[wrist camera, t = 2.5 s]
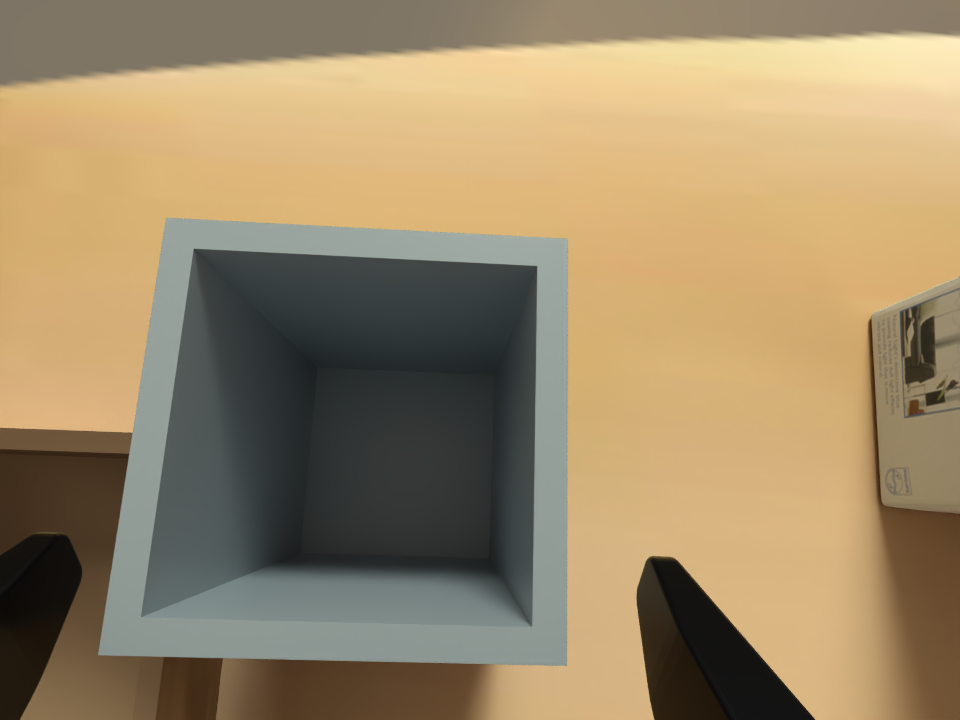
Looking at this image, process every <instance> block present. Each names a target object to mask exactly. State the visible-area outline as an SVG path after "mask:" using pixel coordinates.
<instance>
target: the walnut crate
mask: <svg viewBox="0 0 960 720" xmlns="http://www.w3.org/2000/svg"><path fill="white" fill-rule="evenodd" d="M132 434H133V433H122V432H96V431H69V430H43V429H16V428H0V554H2V553H3V552H5V551H6V550H8V549H10V548H11V547H13V546H14V545H16V544H17V543H19V542H20V541H22V540H23V539H25V538H26V537H28V536H29V535H31V534H33V533H36V532H62V533H65V534H66V535H68V537H69V538H70V540H71V542H72V545H73V547H74V549H75V552H76V554H77V556H78V558H79V561H80V563H81V566H82V579H81V583H80V585H79V588H78V590H77V593H76V595H75V598H74V600H73V603H72V605H71V608H70V610H69V612H68V615H67V617H66V620H65V622H64V625H63V627H62V630H61V632H60V635H59V637H58V639H57V642H56V644H55V647H54V649H53V652H52V654H51V657H50V659H49V662H48V664H47V666H46V669H45V671H44V673H43V675H42V678H41V680H40V682H39V684H38V686H37V688H36V690H35V692H34V694H33V696H32V698H31V700H30V702H29V704H28V706H27V707H26V709H25V711H24V713H23V715H22V717H21V719H20V720H215V717H216V709H217V700H218V691H219V682H220V674H221V665H222V658H197V657H153V656H108V655H98V653H99V646H100V640H101V633H102V627H103V620H104V614H105V608H106V601H107V595H108V588H109V582H110V575H111V569H112V563H113V556H114V550H115V543H116V537H117V530H118V524H119V518H120V511H121V505H122V498H123V492H124V485H125V479H126V472H127V466H128V460H129V453H130V447H131V440H132Z"/></svg>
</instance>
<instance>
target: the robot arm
mask: <svg viewBox="0 0 960 720" xmlns="http://www.w3.org/2000/svg"><path fill="white" fill-rule="evenodd" d="M81 579H82V566H81V563H80V561H79V558H78V556H77V554H76V552H75V549H74V547H73V545H72V542H71V540H70V538H69V537H68V535H66V534H65V533H62V532H36V533H33V534H31V535H29V536H28V537H26V538H25V539H23V540H22V541H20V542H19V543H17V544H16V545H14V546H13V547H11V548H10V549H8V550H6V551H5V552H3V553H2V554H0V720H20V719H21V717H22V715H23V713H24V711H25V709H26V707H27V706H28V704H29V702H30V700H31V698H32V696H33V694H34V692H35V690H36V688H37V686H38V684H39V682H40V680H41V678H42V675H43V673H44V671H45V669H46V666H47V664H48V662H49V659H50V657H51V654H52V652H53V649H54V647H55V644H56V642H57V639H58V637H59V635H60V632H61V630H62V627H63V625H64V622H65V620H66V617H67V615H68V612H69V610H70V608H71V605H72V603H73V600H74V598H75V595H76V593H77V590H78V588H79V585H80V583H81ZM637 608H638V616H639V623H640V631H641V638H642V646H643V653H644V661H645V668H646V676H647V683H648V690H649V696H650V702H651V707H652V711H653V716H654V720H815V719H814V718H813V716H812V715H811V714H810V713H809V712H808V711H807V709H806V708H805V707H804V706H803V705H802V704H801V703H800V701H799V700H798V699H797V698H796V697H795V696H794V694H793V693H792V692H791V691H790V690H789V689H788V688H787V686H786V685H785V684H784V683H783V682H782V681H781V679H780V678H779V677H778V676H777V675H776V674H775V673H774V671H773V670H772V669H771V668H770V667H769V666H768V664H767V663H766V662H765V661H764V660H763V659H762V657H761V656H760V655H759V654H758V653H757V652H756V651H755V649H754V648H753V647H752V646H751V645H750V644H749V642H748V641H747V640H746V639H745V638H744V637H743V636H742V634H741V633H740V632H739V631H738V630H737V629H736V627H735V626H734V625H733V624H732V623H731V622H730V620H729V619H728V618H727V617H726V616H725V615H724V614H723V612H722V611H721V610H720V609H719V608H718V607H717V605H716V604H715V603H714V602H713V601H712V600H711V599H710V597H709V596H708V595H707V594H706V593H705V592H704V590H703V589H702V588H701V587H700V586H699V585H698V584H697V582H696V581H695V580H694V579H693V578H692V577H691V575H690V574H689V573H688V572H687V571H686V570H685V568H684V567H683V566H682V565H681V564H680V563H679V562H678V561H677V560H676V559H675V558H673V557H661V556H651V557H649V558H648V559H647V561H646V563H645V566H644V569H643V572H642V575H641V578H640V582H639V585H638V588H637Z"/></svg>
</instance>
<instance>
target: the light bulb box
mask: <svg viewBox="0 0 960 720" xmlns="http://www.w3.org/2000/svg"><path fill="white" fill-rule="evenodd" d="M871 318H872V337H873V356H874V374H875V393H876V413H877V431H878V449H879V469H880V487H881V500H882V503H883V504H884V505H885V506H888V507H896V508H905V509H914V510H924V511H935V512H946V513H957V514H960V276H959V277H957V278H954V279H952V280H949V281H947V282H944V283H942V284H940V285H937V286H935V287H932V288H930V289H928V290H926V291H924V292H921V293H919V294H916V295H914V296H911V297H909V298H907V299H905V300H902V301H899V302H897V303H895V304H893V305H890V306H888V307H886V308H883V309H881V310H879V311H876V312H874V313H873V314H872V317H871Z"/></svg>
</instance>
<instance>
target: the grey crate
mask: <svg viewBox="0 0 960 720" xmlns="http://www.w3.org/2000/svg"><path fill="white" fill-rule="evenodd" d="M567 402H568V239H561V238H542V237H523V236H504V235H485V234H466V233H447V232H428V231H409V230H389V229H370V228H351V227H332V226H313V225H294V224H275V223H256V222H237V221H218V220H199V219H179V218H166V222H165V228H164V235H163V241H162V247H161V254H160V260H159V267H158V273H157V280H156V286H155V292H154V299H153V305H152V312H151V318H150V325H149V331H148V337H147V344H146V350H145V357H144V363H143V370H142V376H141V382H140V389H139V395H138V402H137V408H136V415H135V421H134V427H133V434H132V440H131V447H130V453H129V460H128V466H127V472H126V479H125V485H124V492H123V498H122V505H121V511H120V518H119V524H118V530H117V537H116V543H115V550H114V556H113V563H112V569H111V575H110V582H109V588H108V595H107V601H106V608H105V614H104V620H103V627H102V633H101V640H100V646H99V653H98V655H108V656H153V657H197V658H241V659H286V660H330V661H374V662H419V663H463V664H508V665H552V666H567Z"/></svg>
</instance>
